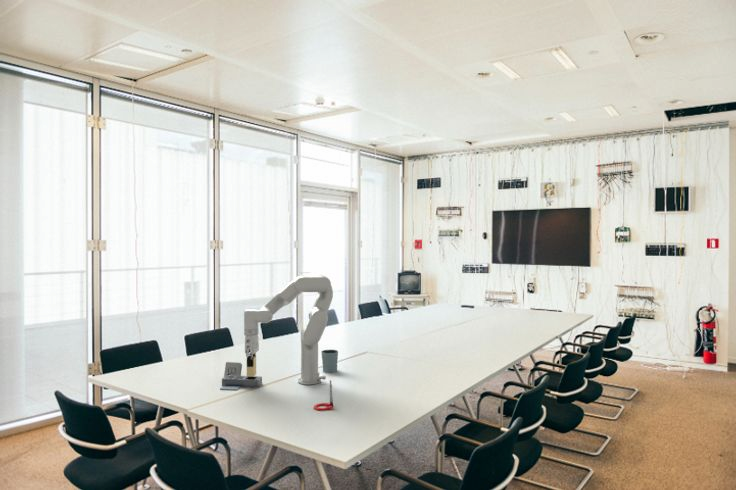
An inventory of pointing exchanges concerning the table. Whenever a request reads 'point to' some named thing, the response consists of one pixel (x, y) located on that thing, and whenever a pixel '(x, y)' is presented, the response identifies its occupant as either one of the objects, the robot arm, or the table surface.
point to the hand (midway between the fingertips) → (251, 365)
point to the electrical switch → (233, 369)
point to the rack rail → (242, 381)
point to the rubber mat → (230, 388)
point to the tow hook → (330, 405)
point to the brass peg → (252, 368)
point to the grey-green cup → (329, 360)
